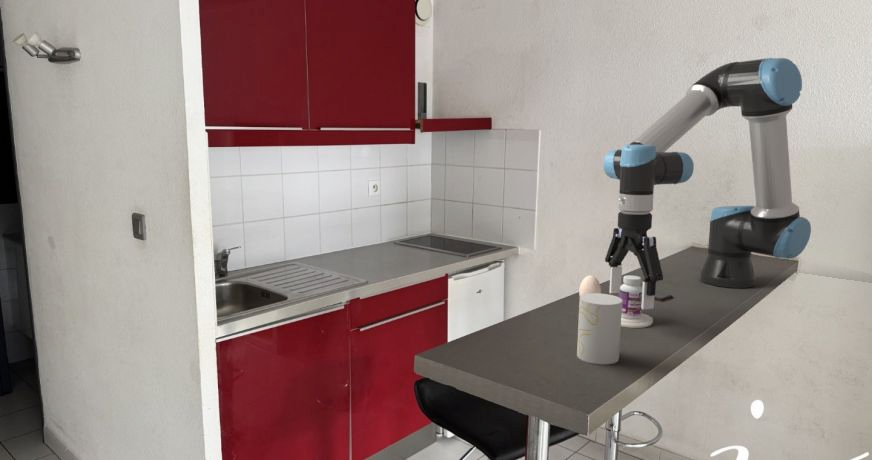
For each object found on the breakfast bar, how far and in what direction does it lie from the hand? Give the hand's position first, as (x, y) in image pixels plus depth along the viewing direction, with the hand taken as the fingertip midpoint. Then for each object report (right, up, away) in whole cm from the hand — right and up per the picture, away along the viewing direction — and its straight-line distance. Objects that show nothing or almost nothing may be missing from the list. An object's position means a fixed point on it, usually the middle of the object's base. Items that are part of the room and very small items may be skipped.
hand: (630, 300), depth 142 cm
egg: (-6, -3, +13) cm, 15 cm away
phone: (+11, -2, +24) cm, 27 cm away
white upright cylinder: (-14, -9, -22) cm, 28 cm away
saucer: (0, -5, +1) cm, 5 cm away
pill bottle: (0, -4, +1) cm, 4 cm away
